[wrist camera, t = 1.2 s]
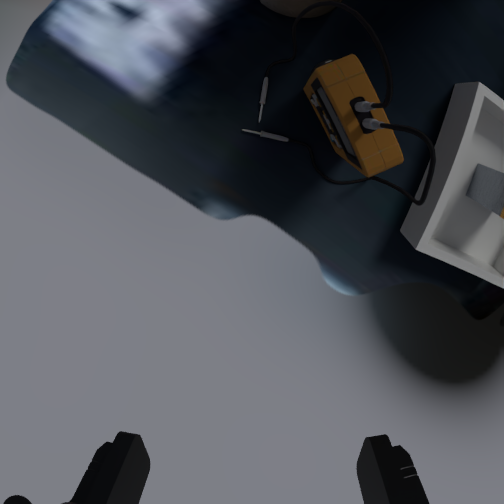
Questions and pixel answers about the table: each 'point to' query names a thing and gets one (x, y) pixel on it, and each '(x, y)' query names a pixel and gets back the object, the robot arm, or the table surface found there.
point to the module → (488, 189)
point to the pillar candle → (298, 7)
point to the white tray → (463, 187)
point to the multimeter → (354, 112)
